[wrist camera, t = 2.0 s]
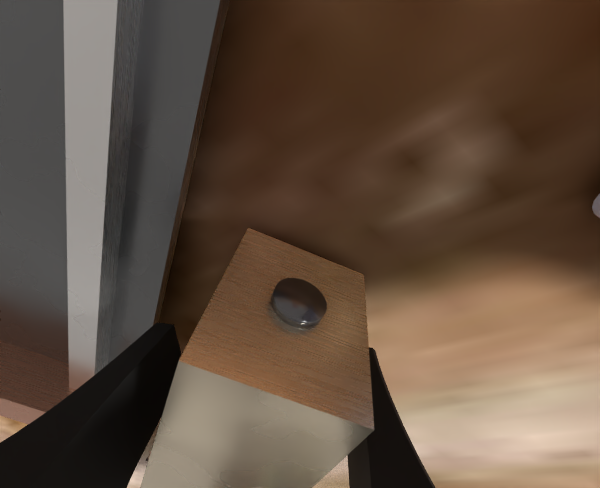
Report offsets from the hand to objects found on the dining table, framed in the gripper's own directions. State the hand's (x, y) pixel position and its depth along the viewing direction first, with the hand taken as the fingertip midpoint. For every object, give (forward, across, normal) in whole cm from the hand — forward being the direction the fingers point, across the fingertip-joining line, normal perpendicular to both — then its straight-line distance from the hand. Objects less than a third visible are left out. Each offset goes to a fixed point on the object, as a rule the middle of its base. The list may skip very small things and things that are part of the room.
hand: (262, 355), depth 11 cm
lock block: (+2, 0, 0) cm, 2 cm away
